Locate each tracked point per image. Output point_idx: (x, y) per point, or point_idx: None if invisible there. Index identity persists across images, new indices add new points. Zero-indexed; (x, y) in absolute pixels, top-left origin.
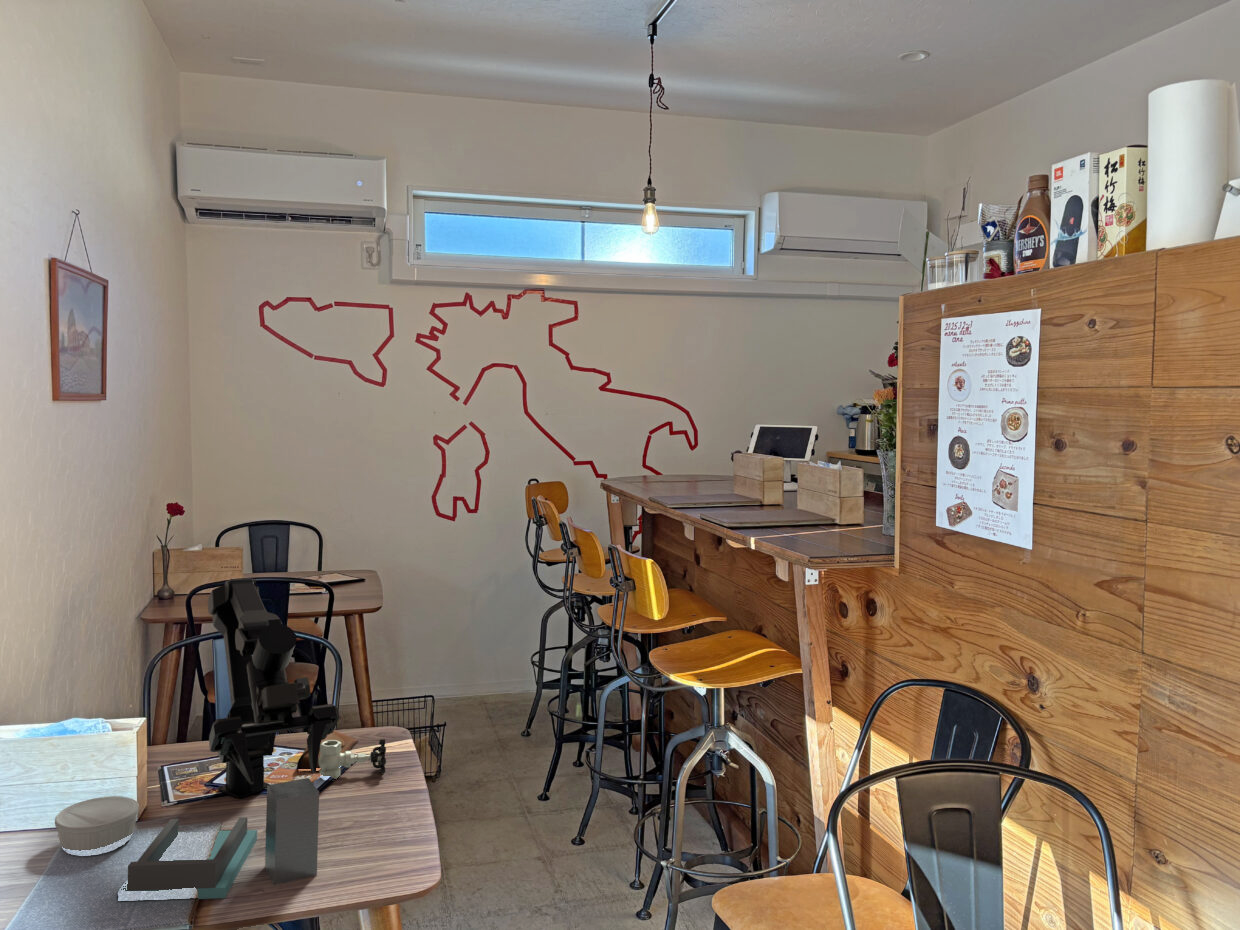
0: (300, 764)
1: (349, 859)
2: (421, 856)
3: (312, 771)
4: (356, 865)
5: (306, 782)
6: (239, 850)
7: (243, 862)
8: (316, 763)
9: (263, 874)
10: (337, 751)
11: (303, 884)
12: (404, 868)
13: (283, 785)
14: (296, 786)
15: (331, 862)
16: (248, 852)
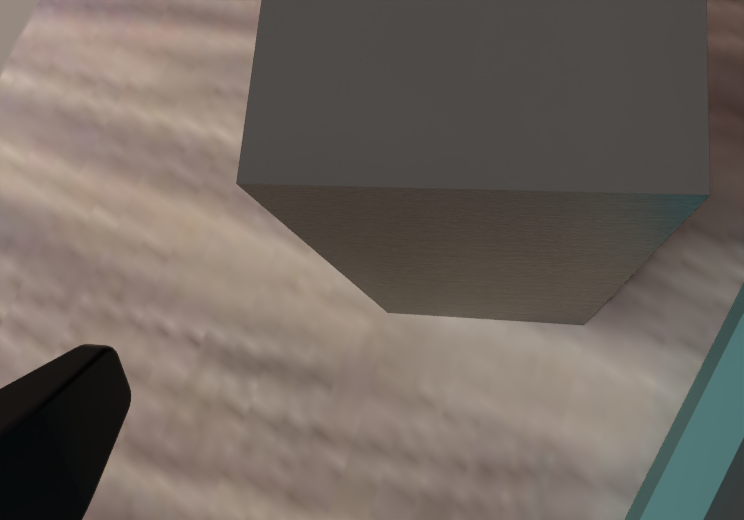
0: None
1: (238, 202)
2: (16, 89)
3: (121, 392)
4: (238, 138)
5: (300, 70)
6: (704, 479)
7: (677, 418)
8: (26, 379)
9: None
10: None
11: None
12: (109, 33)
13: (535, 101)
14: (422, 14)
15: None
16: (631, 513)
